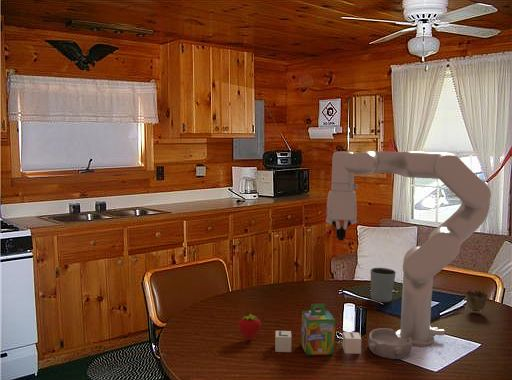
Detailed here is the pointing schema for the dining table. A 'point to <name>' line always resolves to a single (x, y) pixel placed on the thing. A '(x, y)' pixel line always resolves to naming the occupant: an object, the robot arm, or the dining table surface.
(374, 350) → the dish
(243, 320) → the strawberry
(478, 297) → the cup
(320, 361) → the dining table surface
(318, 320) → the chalk box
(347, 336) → the cream numeral block
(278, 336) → the white marked cube
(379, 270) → the grey cylinder
